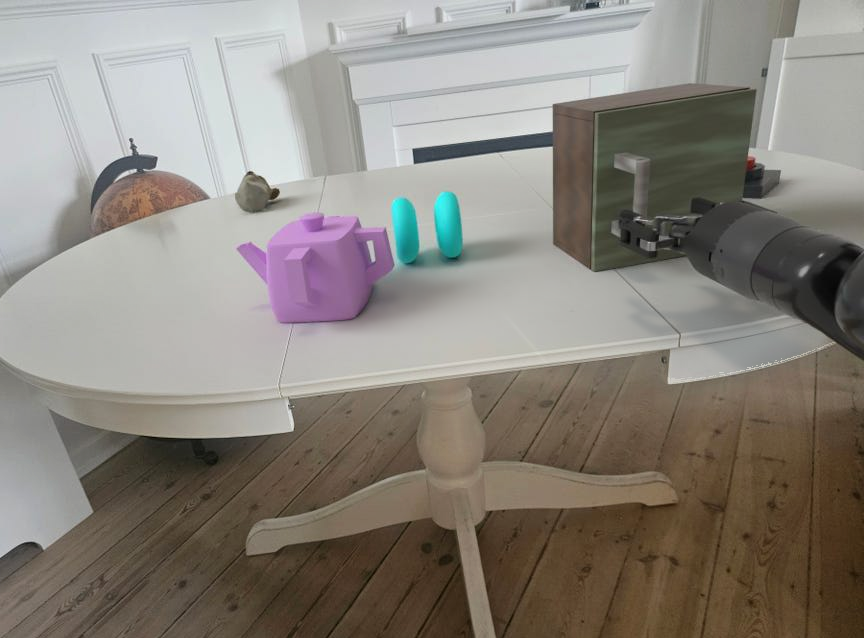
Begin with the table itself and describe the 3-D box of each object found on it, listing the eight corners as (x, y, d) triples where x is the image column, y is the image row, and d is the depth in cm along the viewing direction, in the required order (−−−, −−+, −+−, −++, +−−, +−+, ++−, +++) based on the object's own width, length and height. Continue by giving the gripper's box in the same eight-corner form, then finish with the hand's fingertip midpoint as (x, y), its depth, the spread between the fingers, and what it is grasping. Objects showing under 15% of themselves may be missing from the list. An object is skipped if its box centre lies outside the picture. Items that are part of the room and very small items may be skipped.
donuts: (397, 253, 103) (389, 192, 99) (457, 245, 103) (453, 183, 98) (398, 273, 94) (391, 207, 90) (465, 265, 94) (460, 198, 89)
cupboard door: (768, 260, 81) (794, 91, 72) (616, 287, 79) (623, 118, 70) (731, 245, 87) (751, 88, 78) (590, 269, 85) (594, 112, 76)
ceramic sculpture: (220, 177, 138) (233, 170, 152) (229, 217, 142) (240, 206, 155) (268, 171, 138) (277, 164, 152) (276, 211, 142) (283, 200, 155)
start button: (732, 166, 113) (733, 155, 112) (757, 166, 110) (758, 156, 109) (725, 171, 110) (726, 160, 109) (750, 171, 108) (751, 161, 107)
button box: (718, 180, 119) (721, 158, 117) (779, 182, 112) (782, 159, 110) (697, 196, 111) (699, 173, 109) (760, 199, 105) (764, 175, 103)
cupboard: (730, 245, 87) (750, 87, 78) (589, 270, 86) (593, 111, 77) (677, 223, 99) (689, 83, 90) (552, 244, 97) (552, 103, 88)
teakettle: (305, 339, 77) (285, 241, 71) (245, 307, 90) (225, 221, 84) (412, 296, 85) (402, 206, 80) (344, 272, 98) (331, 192, 92)
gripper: (833, 199, 57) (720, 169, 71) (683, 225, 55) (599, 189, 70) (817, 277, 60) (712, 234, 74) (676, 303, 59) (598, 254, 73)
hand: (658, 212), depth 72 cm, fingers open, 8 cm apart
